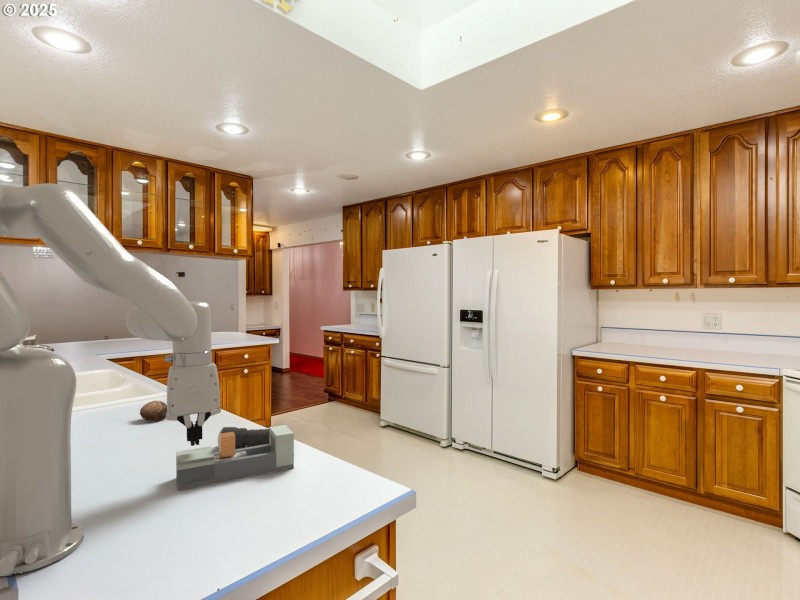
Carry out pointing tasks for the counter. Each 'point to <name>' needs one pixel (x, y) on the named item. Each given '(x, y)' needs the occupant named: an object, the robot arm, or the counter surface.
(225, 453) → the hammer
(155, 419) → the brown rounded lump
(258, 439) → the flashlight
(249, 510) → the counter surface
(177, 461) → the toy lathe
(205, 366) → the robot arm
